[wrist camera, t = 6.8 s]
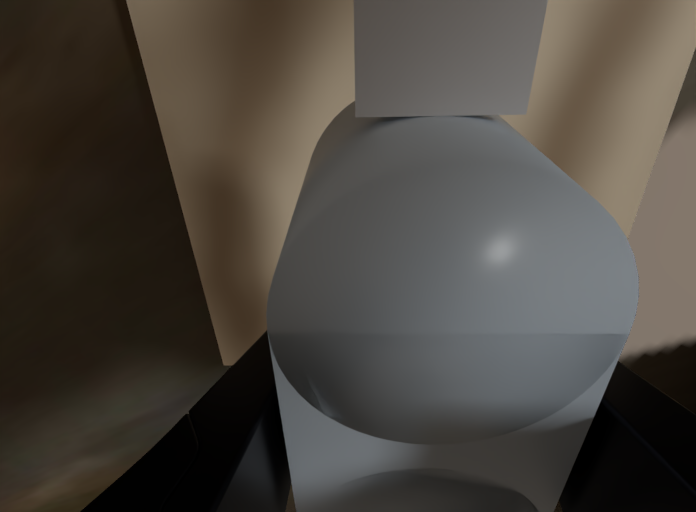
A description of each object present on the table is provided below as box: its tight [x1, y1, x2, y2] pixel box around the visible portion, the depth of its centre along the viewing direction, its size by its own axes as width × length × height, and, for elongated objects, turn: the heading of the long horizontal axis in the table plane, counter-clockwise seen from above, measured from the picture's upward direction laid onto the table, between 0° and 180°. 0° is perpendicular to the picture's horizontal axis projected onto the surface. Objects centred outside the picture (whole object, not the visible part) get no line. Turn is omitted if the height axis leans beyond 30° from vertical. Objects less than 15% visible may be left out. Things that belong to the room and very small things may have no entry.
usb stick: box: [266, 0, 639, 512], centre depth 8 cm, size 12×4×4 cm, turn 1°
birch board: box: [126, 0, 696, 365], centre depth 19 cm, size 20×20×1 cm
